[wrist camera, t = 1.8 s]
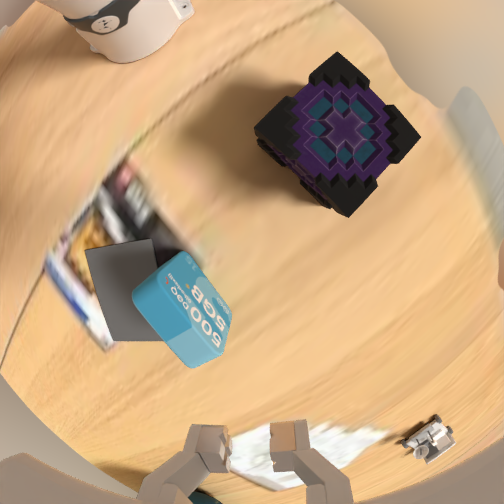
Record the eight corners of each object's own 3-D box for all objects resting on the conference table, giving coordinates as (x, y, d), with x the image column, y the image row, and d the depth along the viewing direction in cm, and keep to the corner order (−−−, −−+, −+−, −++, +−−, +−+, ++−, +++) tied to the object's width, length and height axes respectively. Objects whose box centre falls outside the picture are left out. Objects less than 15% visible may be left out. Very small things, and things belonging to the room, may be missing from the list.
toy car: (406, 464, 39) (447, 435, 37) (395, 437, 48) (432, 409, 46) (428, 473, 41) (462, 448, 39) (419, 450, 51) (450, 426, 48)
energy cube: (316, 87, 32) (337, 51, 20) (378, 147, 33) (421, 137, 22) (257, 144, 34) (254, 127, 23) (322, 206, 36) (348, 217, 24)
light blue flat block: (233, 312, 40) (222, 360, 29) (210, 325, 41) (192, 374, 30) (185, 247, 38) (153, 275, 27) (162, 264, 39) (126, 296, 27)
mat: (86, 250, 39) (84, 250, 39) (151, 238, 38) (150, 238, 38) (114, 339, 43) (113, 340, 43) (177, 339, 42) (177, 340, 42)
